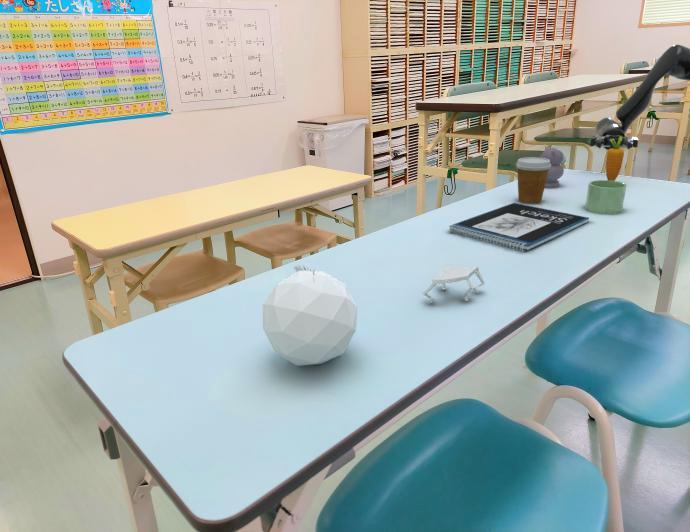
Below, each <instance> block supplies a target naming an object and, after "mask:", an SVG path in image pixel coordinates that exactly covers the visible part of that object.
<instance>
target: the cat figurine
mask: <svg viewBox="0 0 690 532" xmlns="http://www.w3.org/2000/svg"><path fill="white" fill-rule="evenodd" d="M540 158H546V159H549V160H550V164H551V167H550V169H549V171H548V175H547V179H546V183H545V188H549V189H554V188H558V187H560V180H559V179H561V178H562V177H563V175H564V172H565V170H564V166H563V165H562V163H563V161H564V153H563V151H562V150H561V149H559V148H557V147H548V146H546V145H545V146H544V150H543V152H542V153H541V156H540Z"/></svg>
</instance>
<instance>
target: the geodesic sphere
mask: <svg viewBox="0 0 690 532" xmlns="http://www.w3.org/2000/svg"><path fill="white" fill-rule="evenodd" d="M302 266H303V268H302V267H301V265H295V266H293V269H294V271H296V272H293V273H292V274H291V275H289V276H288V277H286V278H284V279H283V280H281V281H279V282H278V283H276V285H275V286H274V288H272V290H271V292H270V293H269V294H268V296H267V298H266V299H265V301H263V303H262V329H263V331H264V333H265V335H266V337H267V339H268V341H269V343H270V346H271V348H272V351H273V352H274V353H276V354H277V355H278V356H280V357H282V358H284V359H285V360H286V361H288V362H290V363H292V364H293V365H294V366H299V367H300V366H317V365H323V364H325V363H327V362H328V361H331V360H333V359H335V358H337V357H338V356H341V355H343V354H344V352H345V351H346V350H347V347H348V346H349V344H350V342H351V340H352V338H353V337H354V335H355V333H356V331H357V321H358V305H357V304H356V302H355V300H354V298H353V296H352V294H351V292H350V291H349V289H348V287H347V285H346V283H344V282H342V281H340V280H339V279H337V278H335V277H334V276H331V275H330V274H328V273H326V272H325V271H321V270H319V271H318V270H312V269H311V268H308V267H306V266H304V265H302Z"/></svg>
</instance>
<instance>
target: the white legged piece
mask: <svg viewBox="0 0 690 532" xmlns="http://www.w3.org/2000/svg"><path fill="white" fill-rule="evenodd" d="M473 275H476V277H477V278H478V279H479V281H480V284H479V285H476V286H473V284H472V282H471V280H470V278H472V276H473ZM462 281H466V283H467V285H468V287H469V288H468V290H467V291H466V292H465V294H464V296H463V299H464V301H465V302H468V301H469V298H468V297H467V295H468V294H469V293H470V292H471V291H472V290H473V291H474V292H475V293H476V294H479V293H480V292H479V291H478V290H477V289H478V288H480V287H481V286H484V285H485V284H486V282H485V280H484V278H483V276H482V273H481V272H480V269H479V266H467V267H466V266H464V267H460V266H459V267H457V266H448V265H446V266H445V268H444V269H443V270H442V271H441V272H440V273H439V274H438V275H437V276H436V278H433V279H432V282H431V284H430V285H429V287H428V288H427V289H426V290H424V291H423V293H422V296H425V297H426V298H428V299H429V300H431V301H429V302H428V304H432V303H434V302H436V299H435V298H434V297H432V295H429V294H428V293H429V292H430V291H431V290H432V289H434V288H435V287H436V286H437V285H440V284H441V285H442V288H441V290H442V291H444V290H446V289H447V285H446V284H452V283H457V282H462Z"/></svg>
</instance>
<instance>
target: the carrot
mask: <svg viewBox="0 0 690 532" xmlns="http://www.w3.org/2000/svg"><path fill="white" fill-rule="evenodd" d="M609 141H610V142H611V143H612V145H613V147H614V148H611V149H609V150H607V152H606V159H605V161H606V162H605V175H606V180H610V181H616V180H617V178H618V176H619V174H620V171H621V168H622V165H623V160H624V154H625V152H624V151H625V150H624V148H621V147H620V148H619V146H620V144H621V142H622V136H619V140H618V143H617V145H616V142H615V140H614V139H612V140H611V139H610V140H609Z"/></svg>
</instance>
